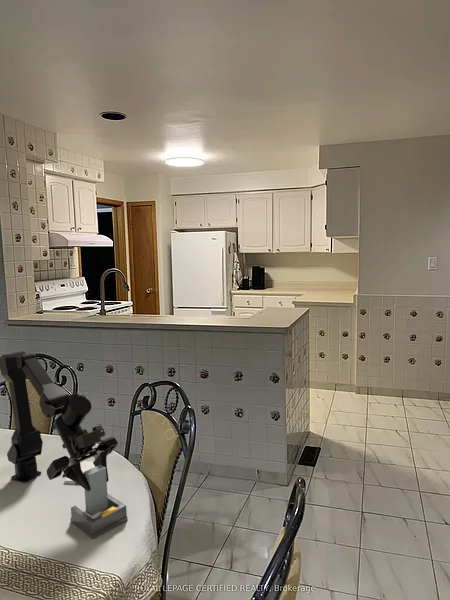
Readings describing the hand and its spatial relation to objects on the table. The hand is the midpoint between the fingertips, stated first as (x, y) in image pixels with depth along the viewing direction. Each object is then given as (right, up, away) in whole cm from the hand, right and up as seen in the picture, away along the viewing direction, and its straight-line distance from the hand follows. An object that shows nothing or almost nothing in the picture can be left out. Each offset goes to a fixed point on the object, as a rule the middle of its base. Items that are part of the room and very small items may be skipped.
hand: (98, 485), depth 114 cm
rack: (0, -10, +2) cm, 10 cm away
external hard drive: (-12, -8, +27) cm, 30 cm away
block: (-1, -7, +2) cm, 7 cm away
